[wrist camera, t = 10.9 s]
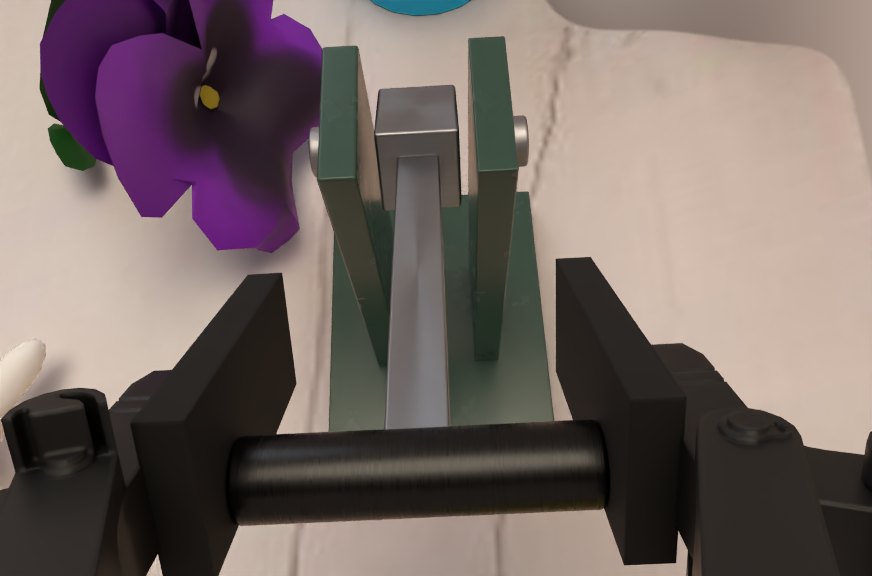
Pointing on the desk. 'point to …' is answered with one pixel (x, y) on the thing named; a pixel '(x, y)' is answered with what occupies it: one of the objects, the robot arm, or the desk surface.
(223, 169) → the flower
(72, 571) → the robot arm
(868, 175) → the desk surface
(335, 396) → the bracket
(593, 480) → the lever
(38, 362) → the rabbit figurine
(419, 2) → the mug
